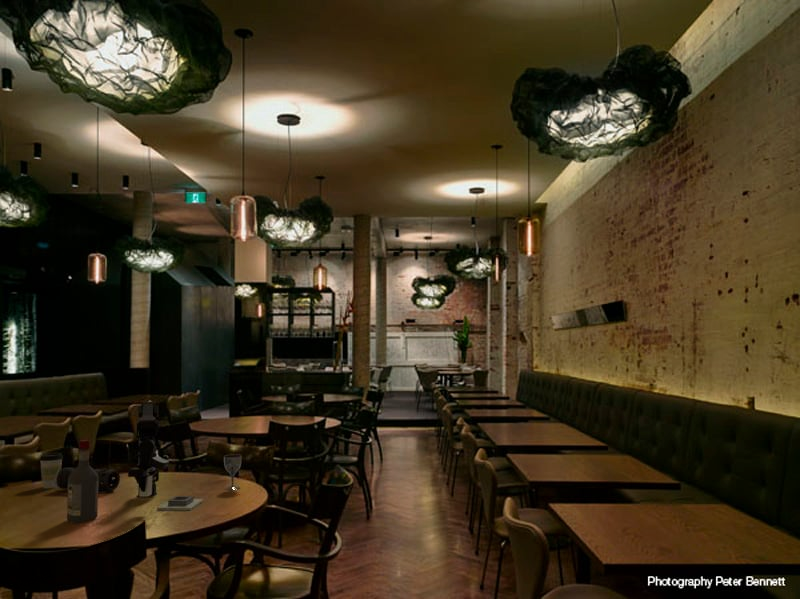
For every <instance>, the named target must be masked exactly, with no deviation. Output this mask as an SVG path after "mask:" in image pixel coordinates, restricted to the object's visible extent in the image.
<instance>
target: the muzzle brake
mask: <svg viewBox="0 0 800 599" xmlns="http://www.w3.org/2000/svg"><path fill="white" fill-rule="evenodd" d="M75 469H76V467H63V468H61V469H60V470H58V471H57V473H56V474H55V477H54V483H55V485H56V486H57V487H56V488H59V489H61V490H68V478H69V475H70V474H71V473H72V472H73V471H74V470H75ZM93 469H94V468H93ZM94 470H95V471H96V472H97V474H98V476H99V477H98V493H114V491H115V490H116V489H117V488H118V486H119V484H120V481H121V475H120V472H119V471H118V470H116V469H97V468H96V469H94Z"/></svg>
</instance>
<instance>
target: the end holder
mask: <svg viewBox="0 0 800 599" xmlns="http://www.w3.org/2000/svg"><path fill="white" fill-rule="evenodd" d="M194 497H195V496H194V495H175V496H174V497H171V498H170V499H169V500H167V501H166V502H164V503H162V504H161V505H159V506H157V507H156V510H157V511H192V510H194V509H195V508H196V507H198V506H200V505H201V504H202V503H204V502H203V501H205V499H204V498H194ZM200 503H201V504H200ZM193 508H194V509H193Z"/></svg>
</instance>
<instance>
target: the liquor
mask: <svg viewBox="0 0 800 599" xmlns="http://www.w3.org/2000/svg"><path fill="white" fill-rule="evenodd" d="M90 442H91V441H90V440H89V439H81V440H79V441H78V464H77V466H76V467H75V470H74V471H73V472H72V473H71V474H70V475H69V478H68V489H67V501H66V502H67V504H66V519H67V522H70V523H72V524H83V523H87V522H92V521H94V520H96V519H97V517H98V513H99V512H98V510H99V508H98V507H99V492H98V477H99V476H98V474H97V472H96V471H95V470H94V468H93V467H92V466H91V465H90Z"/></svg>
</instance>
